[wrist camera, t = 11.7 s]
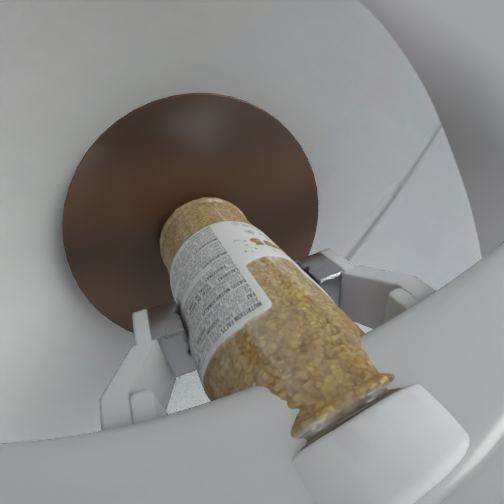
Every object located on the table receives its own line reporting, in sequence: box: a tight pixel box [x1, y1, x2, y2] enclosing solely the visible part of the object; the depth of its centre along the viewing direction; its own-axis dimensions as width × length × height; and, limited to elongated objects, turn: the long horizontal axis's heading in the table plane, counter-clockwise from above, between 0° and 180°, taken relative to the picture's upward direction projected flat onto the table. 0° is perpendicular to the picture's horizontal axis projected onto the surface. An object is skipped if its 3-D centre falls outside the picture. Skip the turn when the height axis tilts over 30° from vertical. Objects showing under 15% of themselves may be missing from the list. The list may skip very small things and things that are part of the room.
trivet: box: [63, 93, 318, 333], centre depth 15 cm, size 14×14×2 cm
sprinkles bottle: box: [159, 197, 469, 504], centre depth 9 cm, size 5×5×14 cm
